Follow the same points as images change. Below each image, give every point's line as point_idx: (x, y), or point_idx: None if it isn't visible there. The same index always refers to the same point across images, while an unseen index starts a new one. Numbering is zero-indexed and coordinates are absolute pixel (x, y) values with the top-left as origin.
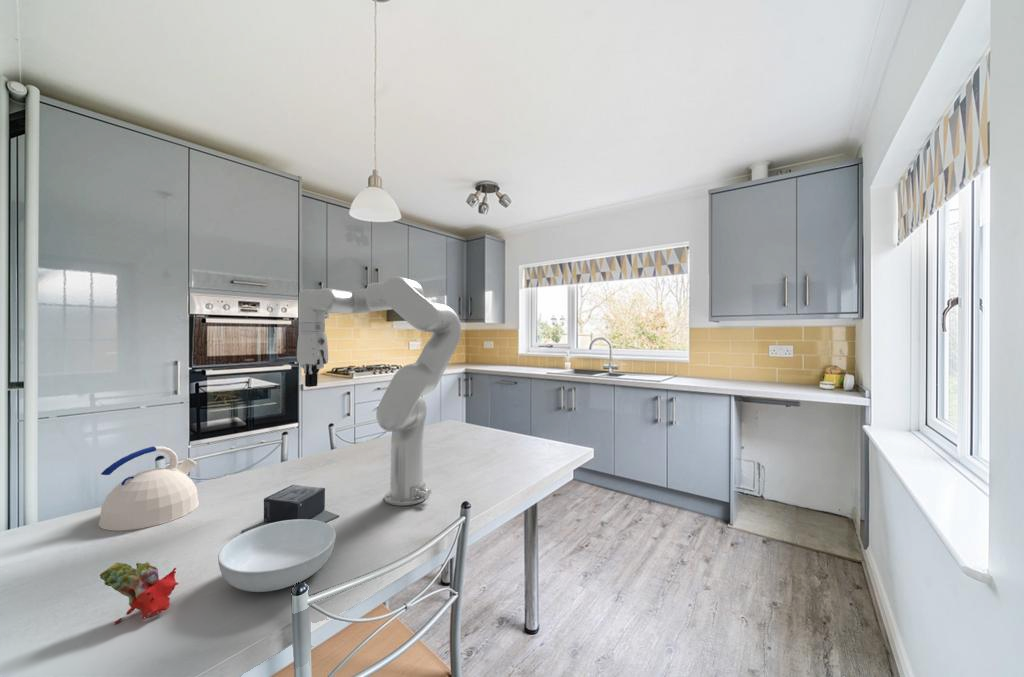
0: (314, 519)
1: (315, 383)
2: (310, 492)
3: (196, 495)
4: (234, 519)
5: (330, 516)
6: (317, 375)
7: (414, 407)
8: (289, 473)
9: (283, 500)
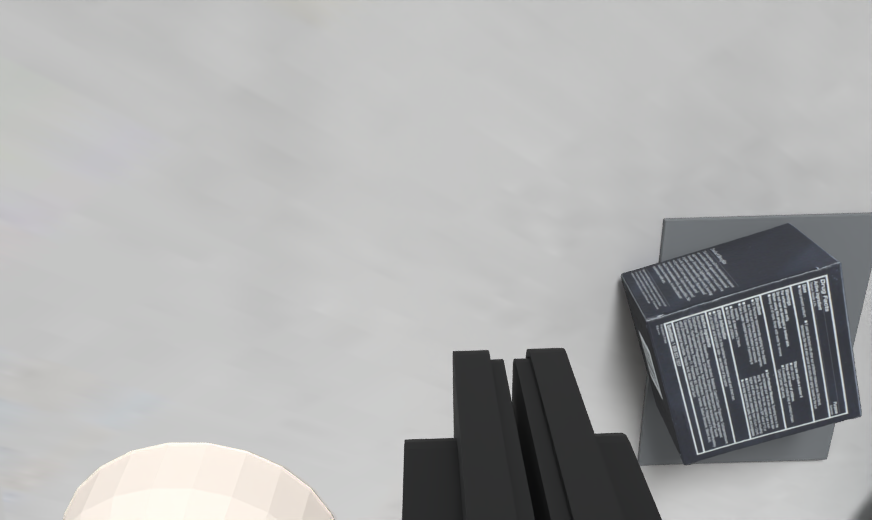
0: None
1: (617, 442)
2: (820, 333)
3: (253, 490)
4: None
5: (855, 240)
6: (614, 500)
7: None
8: (130, 17)
9: (781, 436)
